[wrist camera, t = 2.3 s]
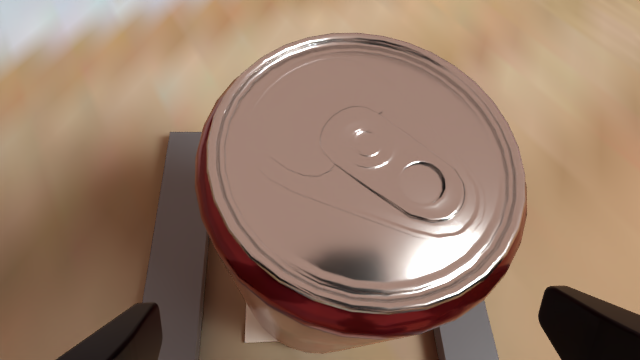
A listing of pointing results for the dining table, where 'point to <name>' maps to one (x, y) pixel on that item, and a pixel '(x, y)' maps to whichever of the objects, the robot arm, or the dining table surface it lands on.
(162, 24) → the dining table surface
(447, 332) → the label frame
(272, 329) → the soda can
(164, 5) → the dining table surface
